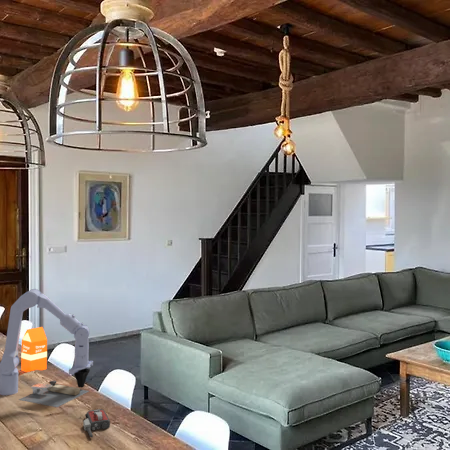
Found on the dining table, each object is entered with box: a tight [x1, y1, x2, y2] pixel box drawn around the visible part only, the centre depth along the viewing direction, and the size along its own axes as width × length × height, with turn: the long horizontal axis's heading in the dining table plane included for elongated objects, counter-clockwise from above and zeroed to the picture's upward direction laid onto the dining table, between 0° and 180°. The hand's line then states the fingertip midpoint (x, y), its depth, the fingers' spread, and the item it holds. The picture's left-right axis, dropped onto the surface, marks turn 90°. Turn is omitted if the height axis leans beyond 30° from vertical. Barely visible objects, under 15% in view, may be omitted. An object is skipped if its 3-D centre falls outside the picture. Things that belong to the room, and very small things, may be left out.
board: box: [18, 388, 90, 408], centre depth 204 cm, size 19×20×1 cm
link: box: [48, 380, 81, 395], centre depth 207 cm, size 14×3×4 cm, turn 68°
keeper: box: [30, 383, 52, 395], centre depth 205 cm, size 4×7×4 cm, turn 78°
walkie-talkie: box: [83, 408, 111, 439], centre depth 176 cm, size 9×4×20 cm
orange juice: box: [20, 326, 48, 373], centre depth 240 cm, size 8×9×20 cm
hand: (81, 386), depth 212 cm, fingers closed
